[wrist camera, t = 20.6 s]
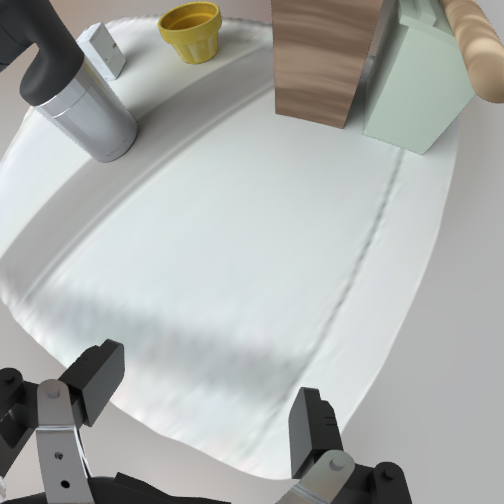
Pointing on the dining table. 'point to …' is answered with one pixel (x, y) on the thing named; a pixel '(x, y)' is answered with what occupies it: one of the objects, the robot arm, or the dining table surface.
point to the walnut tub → (320, 55)
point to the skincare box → (102, 51)
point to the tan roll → (477, 48)
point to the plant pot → (192, 30)
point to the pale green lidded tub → (415, 78)
